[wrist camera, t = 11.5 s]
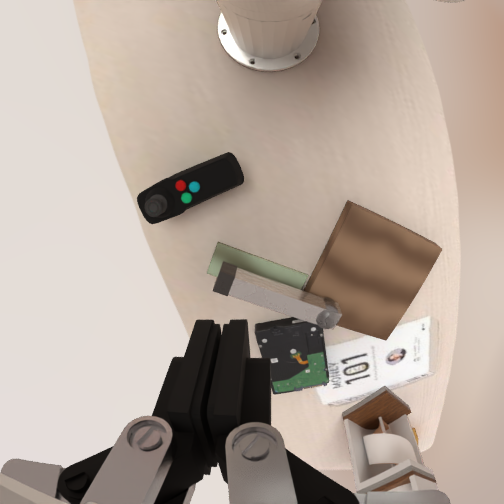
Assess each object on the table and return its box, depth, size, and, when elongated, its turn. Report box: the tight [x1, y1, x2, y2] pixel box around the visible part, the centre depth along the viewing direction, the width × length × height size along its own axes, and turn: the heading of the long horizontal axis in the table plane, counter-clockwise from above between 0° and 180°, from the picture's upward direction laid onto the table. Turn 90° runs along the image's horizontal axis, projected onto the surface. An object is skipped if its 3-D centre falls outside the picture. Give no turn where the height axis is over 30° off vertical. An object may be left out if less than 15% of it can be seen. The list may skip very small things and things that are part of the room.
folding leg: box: [213, 261, 342, 329], centre depth 41 cm, size 17×3×3 cm, turn 69°
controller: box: [137, 152, 244, 224], centre depth 35 cm, size 4×12×10 cm, turn 112°
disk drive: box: [255, 317, 329, 394], centre depth 50 cm, size 10×3×15 cm
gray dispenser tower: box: [342, 386, 439, 494], centre depth 40 cm, size 11×11×35 cm
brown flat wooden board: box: [207, 201, 442, 340], centre depth 42 cm, size 17×30×2 cm, turn 69°
